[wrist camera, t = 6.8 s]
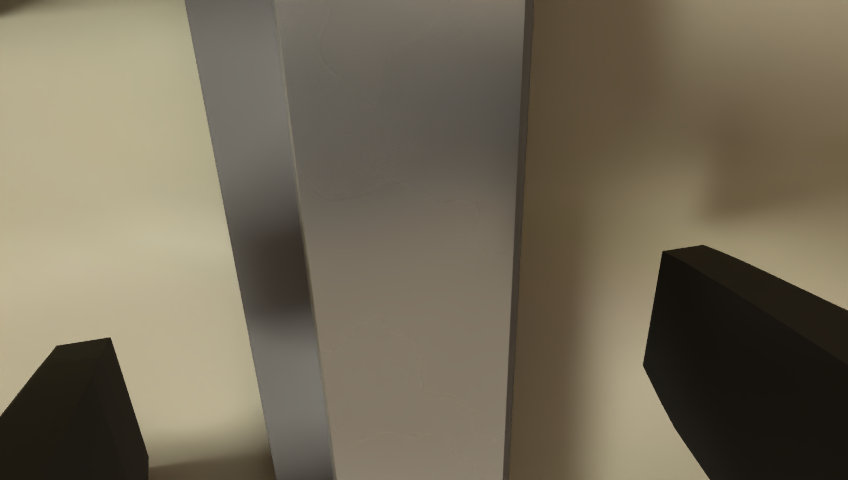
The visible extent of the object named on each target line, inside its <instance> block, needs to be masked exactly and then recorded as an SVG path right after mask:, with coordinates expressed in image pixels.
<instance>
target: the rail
mask: <svg viewBox="0 0 848 480" xmlns="http://www.w3.org/2000/svg"><path fill="white" fill-rule="evenodd" d="M270 2H271V9H272V17H273V25H274V32H275V40H276V47H277V55H278V63H279V70H280V78H281V85H282V93H283V101H284V108H285V116H286V123H287V131H288V139H289V146H290V154H291V161H292V169H293V177H294V184H295V192H296V199H297V207H298V215H299V222H300V230H301V238H302V245H303V253H304V260H305V268H306V276H307V283H308V291H309V298H310V306H311V314H312V321H313V329H314V336H315V344H316V352H317V359H318V367H319V374H320V382H321V390H322V397H323V405H324V412H325V420H326V428H327V435H328V443H329V450H330V458H331V466H332V473H333V480H503V461H504V440H505V419H506V398H507V377H508V356H509V335H510V313H511V292H512V271H513V250H514V229H515V208H516V187H517V165H518V144H519V123H520V102H521V81H522V60H523V39H524V18H525V0H270Z"/></svg>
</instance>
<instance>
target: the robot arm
mask: <svg viewBox="0 0 848 480" xmlns="http://www.w3.org/2000/svg"><path fill="white" fill-rule="evenodd" d="M643 367H644V369H645V371H646V373H647V375H648V377H649V379H650V381H651V383H652V385H653V387H654V389H655V391H656V393H657V395H658V397H659V399H660V401H661V403H662V405H663V407H664V409H665V411H666V413H667V414H668V416H669V418H670V420H671V422H672V424H673V426H674V428H675V429H676V431H677V432H678V434H679V435H680V437H681V438H682V440H683V441H684V443H685V444H686V445H687V447H688V448H689V450H690V451H691V453H692V454H693V456H694V457H695V459H696V460H697V461H698V463H699V464H700V466H701V467H702V469H703V470H704V472H705V473H706V475H707V476H708V477H709V479H710V480H848V311H847V310H845V309H843V308H841V307H839V306H837V305H835V304H832V303H830V302H828V301H826V300H824V299H822V298H820V297H818V296H816V295H813V294H811V293H809V292H807V291H805V290H803V289H801V288H799V287H797V286H795V285H792V284H790V283H788V282H786V281H784V280H782V279H780V278H778V277H776V276H774V275H771V274H769V273H767V272H765V271H763V270H761V269H759V268H756V267H754V266H752V265H750V264H748V263H746V262H743V261H741V260H739V259H737V258H734V257H732V256H730V255H727V254H725V253H723V252H720V251H718V250H715V249H713V248H710V247H707V246H705V245H700V246H693V247H687V248H680V249H674V250H668V251H663V252H662V257H661V263H660V269H659V275H658V281H657V286H656V292H655V298H654V304H653V310H652V315H651V321H650V327H649V333H648V339H647V344H646V350H645V356H644V362H643ZM148 459H149V457H148V454H147V451H146V447H145V444H144V441H143V438H142V435H141V432H140V429H139V425H138V422H137V419H136V416H135V413H134V410H133V407H132V403H131V400H130V397H129V394H128V391H127V388H126V384H125V381H124V378H123V375H122V372H121V369H120V366H119V362H118V359H117V356H116V353H115V350H114V347H113V344H112V340H111V337H110V338H104V339H97V340H91V341H84V342H78V343H72V344H65V345H59V346H56V347H55V349H54V350H53V351H52V352H51V353H50V355H49V356H48V357H47V358H46V360H45V361H44V362H43V363H42V364H41V366H40V367H39V368H38V369H37V370H36V372H35V373H34V374H33V375H32V377H31V378H30V379H29V380H28V382H27V383H26V384H25V386H24V387H23V388H22V389H21V391H20V392H19V393H18V394H17V396H16V397H15V398H14V400H13V401H12V402H11V403H10V405H9V406H8V407H7V408H6V410H5V411H4V412H3V413H2V415H1V416H0V480H148Z"/></svg>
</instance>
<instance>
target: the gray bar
mask: <svg viewBox="0 0 848 480" xmlns="http://www.w3.org/2000/svg"><path fill="white" fill-rule="evenodd" d="M185 5H186V10H187V15H188V21H189V26H190V31H191V36H192V42H193V47H194V52H195V57H196V62H197V68H198V73H199V78H200V83H201V89H202V94H203V99H204V104H205V109H206V115H207V120H208V125H209V130H210V136H211V141H212V146H213V151H214V156H215V162H216V167H217V172H218V177H219V183H220V188H221V193H222V198H223V204H224V209H225V214H226V219H227V224H228V230H229V235H230V240H231V245H232V251H233V256H234V261H235V266H236V271H237V277H238V282H239V287H240V292H241V298H242V303H243V308H244V313H245V318H246V324H247V329H248V334H249V339H250V345H251V350H252V355H253V360H254V366H255V371H256V376H257V381H258V386H259V392H260V397H261V402H262V407H263V413H264V418H265V423H266V428H267V433H268V439H269V444H270V449H271V454H272V460H273V465H274V470H275V475H276V480H333V473H332V466H331V458H330V450H329V443H328V435H327V428H326V420H325V412H324V405H323V397H322V390H321V382H320V374H319V367H318V359H317V352H316V344H315V336H314V329H313V321H312V314H311V306H310V298H309V291H308V283H307V276H306V268H305V260H304V253H303V245H302V238H301V230H300V222H299V215H298V207H297V199H296V192H295V184H294V177H293V169H292V161H291V154H290V146H289V139H288V131H287V123H286V116H285V108H284V101H283V93H282V85H281V78H280V70H279V63H278V55H277V47H276V40H275V32H274V25H273V17H272V9H271V2H270V0H185ZM533 10H534V0H525V18H524V39H523V60H522V81H521V102H520V123H519V144H518V165H517V187H516V208H515V229H514V250H513V271H512V292H511V313H510V335H509V356H508V377H507V398H506V419H505V440H504V461H503V480H508V477H509V458H510V439H511V421H512V402H513V383H514V365H515V346H516V327H517V309H518V290H519V271H520V253H521V234H522V215H523V197H524V178H525V159H526V141H527V122H528V103H529V85H530V66H531V47H532V29H533Z"/></svg>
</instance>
